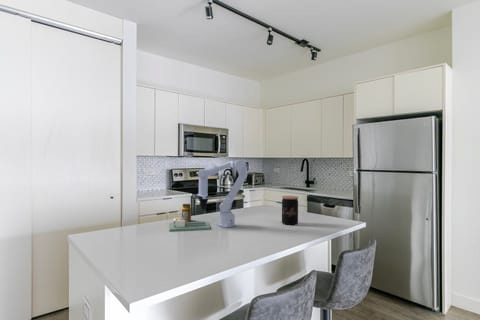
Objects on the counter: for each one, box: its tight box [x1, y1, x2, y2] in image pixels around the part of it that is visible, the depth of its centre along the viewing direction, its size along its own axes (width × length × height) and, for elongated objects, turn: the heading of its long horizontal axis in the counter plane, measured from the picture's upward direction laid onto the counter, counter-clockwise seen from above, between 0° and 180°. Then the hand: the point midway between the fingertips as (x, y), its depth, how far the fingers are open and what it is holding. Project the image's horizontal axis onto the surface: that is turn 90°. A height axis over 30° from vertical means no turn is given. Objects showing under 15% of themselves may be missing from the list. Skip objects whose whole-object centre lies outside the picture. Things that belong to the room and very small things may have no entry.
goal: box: [173, 217, 185, 228], centre depth 173 cm, size 6×8×4 cm
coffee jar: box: [281, 195, 299, 226], centre depth 186 cm, size 11×11×18 cm
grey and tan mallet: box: [183, 212, 188, 226], centre depth 174 cm, size 3×4×8 cm
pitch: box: [168, 221, 211, 232], centre depth 174 cm, size 24×16×2 cm, turn 104°
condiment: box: [181, 203, 195, 222], centre depth 190 cm, size 7×8×12 cm
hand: (202, 208), depth 182 cm, fingers open, 7 cm apart
